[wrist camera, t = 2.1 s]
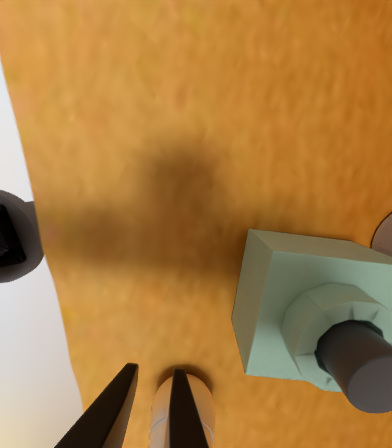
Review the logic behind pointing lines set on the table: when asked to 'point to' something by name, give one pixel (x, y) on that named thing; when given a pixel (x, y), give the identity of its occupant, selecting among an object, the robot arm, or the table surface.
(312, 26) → the table surface
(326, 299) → the button base
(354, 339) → the dark grey button cap
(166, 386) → the plastic bottle
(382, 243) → the thermos bottle
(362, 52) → the table surface
